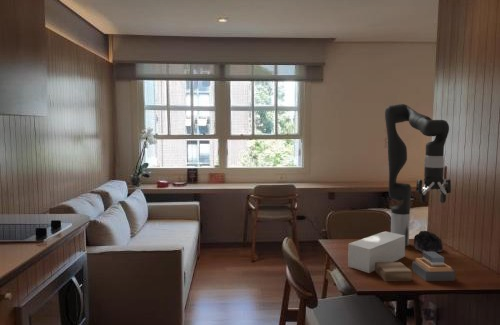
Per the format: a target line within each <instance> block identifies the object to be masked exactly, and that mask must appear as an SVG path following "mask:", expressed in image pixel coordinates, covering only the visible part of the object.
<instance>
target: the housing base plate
mask: <svg viewBox="0 0 500 325" xmlns="http://www.w3.org/2000/svg"><path fill="white" fill-rule="evenodd" d="M421 258H422V261H423V262H424V263H426V264H427V265H429V266H430V267H444V263H445V261H444V262H440V263H432V262H431V261H429V260H428V259H426V258H425V257H423V256H422V257H421Z"/></svg>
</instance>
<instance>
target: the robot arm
mask: <svg viewBox="0 0 500 325" xmlns="http://www.w3.org/2000/svg"><path fill="white" fill-rule="evenodd" d="M384 119H385V120H384V121H385V128H386V134H387V157H388V160H387V161H388V196H389V199H390V200H393V201H402V202H401V204H397V205H393V206H392V207H391V208H390V209H391V210H390V211H391V212H390V214H391V215H390V232H391V233H396V234H400V235H405V247H409V246H410V220H411V218H410V216H411V212H410V211H411V201H412V199H411V197H412V186H411V184H409V183H402V182H397V179H398V178H397V177H398V175H399V173H400V172H401V170H402V169H403V168H404V166H405V164H406V163H407V161H408V151H407V150H408V149H407V145H406V143H405V142H404V141H403V139H402V138H401V137H400V135H399V134H398V132H397V127H396V124H398V123H404V122H408V123H409V125H410V127H412V128H413V129H415V130H418V131H420V133H421V134H422V135H424V136H426V137H435V138H434V140H433V141H429V142H427V143H426V144H425V157H424V164H423V165H424V172H423V173H424V174H423V176H424V179H419V178H418V179H417V180H416V186H415V188H416V189H415V192H416V193H418V194H420V198H419V199H420V203H422V204H426V199H427V198H426V197H427V196H426V194H427V193H428V192H429V191H431V190H438V191H439V192H440V198H439V200H440V201H439V202H440V203H441V204H445V203H446V201H447V199H446V198H447V194H450V193H451V191H452V188H451V187H452V186H451V185H452V184H451V183H452V182H451V179H449V178H445V179H444V173H445V172H444V171H445V170H444V168H445V158H444V151H445V149H444V148H445V144H446V140H447V138H448V135H449V132H450V125H449V123H448V122H447V120H445V119H432V118H431V117H430V116H427V115H425V114H421V113H419V112H417V111H416V110H414V109H413V108H412V107H410V106H409V105H407V104H404V103H399V104H393V105H392V104H391V105H389V106H386V107H385V111H384ZM443 184H444V186H443Z"/></svg>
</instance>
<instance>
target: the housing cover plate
mask: <svg viewBox="0 0 500 325" xmlns="http://www.w3.org/2000/svg"><path fill="white" fill-rule="evenodd" d="M423 257H425V258H426V259H428V260H429V261H431V262H432V263H440V262H444V263H445V257H444V256H443V255H441V254H439V253H438V252H422V258H423Z"/></svg>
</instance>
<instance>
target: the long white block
mask: <svg viewBox="0 0 500 325" xmlns="http://www.w3.org/2000/svg"><path fill="white" fill-rule="evenodd" d="M347 248H348V250H347V251H348V252H347V255H348V256H347V267H348V268H352V269H355V270H359V271H362V272H364V273H368V274H370V273H372V272H375V262H397V261H399V260H401V259H402V258H404V257H405V255H406V254H405V253H406V246H405V235H400V234H396V233H391V231H382V232H379V233H375V234H372V235H370V236H367V237H364V238H362V239H358V240H355V241H353V242H349V243H348V247H347Z"/></svg>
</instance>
